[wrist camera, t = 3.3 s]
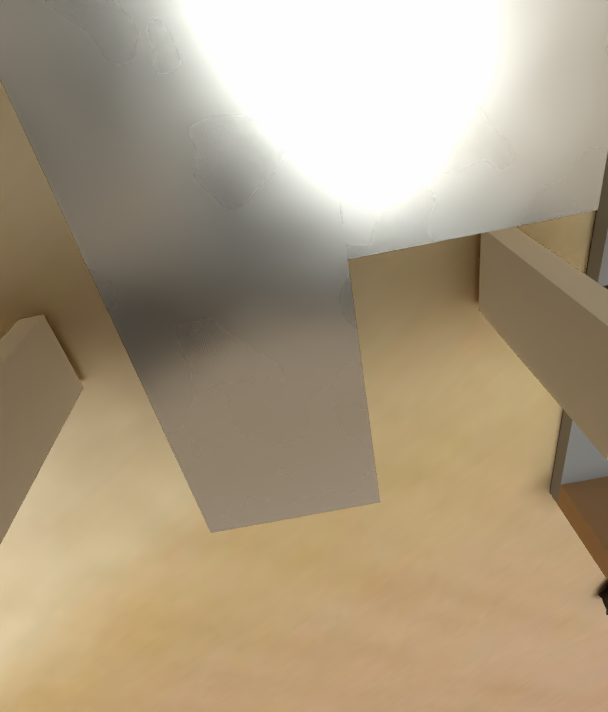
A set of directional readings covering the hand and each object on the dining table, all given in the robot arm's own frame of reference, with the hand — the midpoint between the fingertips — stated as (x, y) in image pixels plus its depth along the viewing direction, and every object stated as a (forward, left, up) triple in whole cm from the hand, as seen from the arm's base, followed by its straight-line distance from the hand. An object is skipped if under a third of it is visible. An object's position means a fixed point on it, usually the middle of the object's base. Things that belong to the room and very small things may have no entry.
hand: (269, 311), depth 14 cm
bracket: (-3, +2, 0) cm, 3 cm away
